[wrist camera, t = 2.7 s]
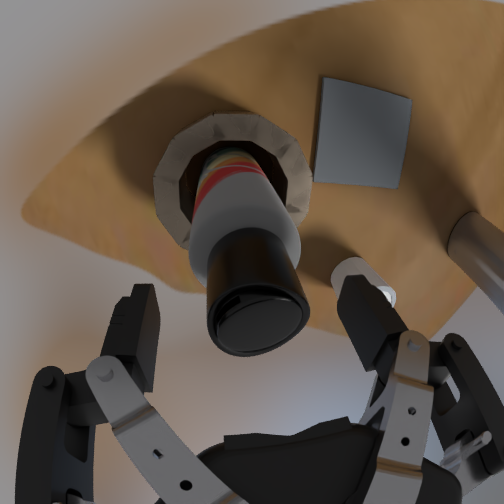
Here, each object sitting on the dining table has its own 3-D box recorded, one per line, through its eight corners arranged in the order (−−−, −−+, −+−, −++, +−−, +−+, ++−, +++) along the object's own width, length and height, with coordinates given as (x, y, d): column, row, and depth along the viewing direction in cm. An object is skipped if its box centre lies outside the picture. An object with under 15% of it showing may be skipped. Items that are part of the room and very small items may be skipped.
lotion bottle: (226, 133, 24) (255, 231, 7) (270, 169, 26) (365, 314, 10) (189, 178, 26) (150, 344, 9) (233, 210, 28) (264, 388, 11)
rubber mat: (409, 99, 23) (412, 100, 23) (395, 187, 29) (397, 189, 29) (322, 77, 22) (324, 77, 21) (312, 180, 28) (313, 181, 27)
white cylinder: (328, 300, 37) (346, 337, 31) (323, 262, 33) (344, 298, 27) (371, 285, 37) (393, 318, 31) (371, 246, 33) (399, 278, 27)
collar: (297, 114, 24) (319, 120, 19) (285, 229, 30) (300, 259, 25) (164, 112, 22) (150, 117, 17) (170, 231, 29) (162, 263, 24)
